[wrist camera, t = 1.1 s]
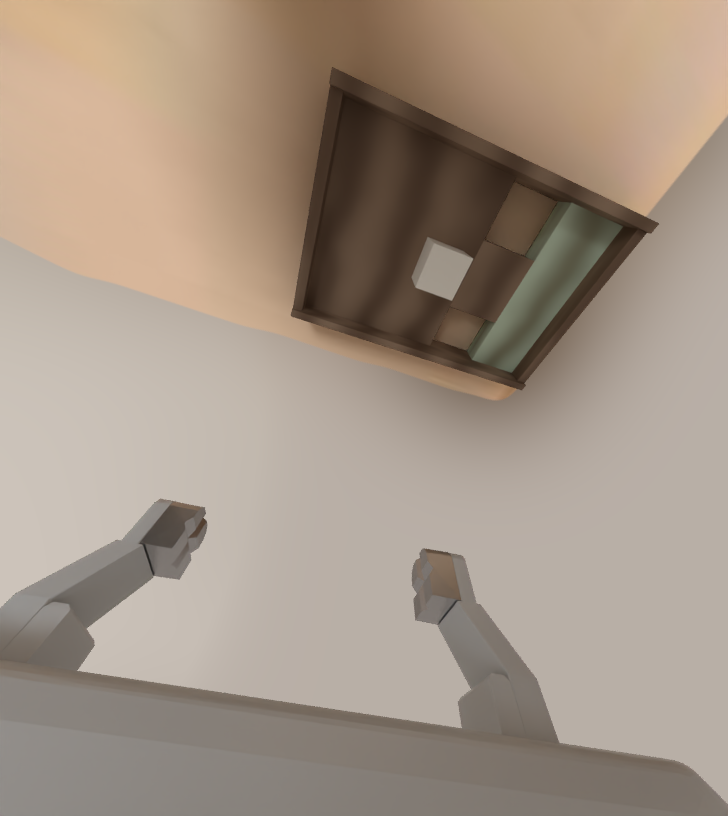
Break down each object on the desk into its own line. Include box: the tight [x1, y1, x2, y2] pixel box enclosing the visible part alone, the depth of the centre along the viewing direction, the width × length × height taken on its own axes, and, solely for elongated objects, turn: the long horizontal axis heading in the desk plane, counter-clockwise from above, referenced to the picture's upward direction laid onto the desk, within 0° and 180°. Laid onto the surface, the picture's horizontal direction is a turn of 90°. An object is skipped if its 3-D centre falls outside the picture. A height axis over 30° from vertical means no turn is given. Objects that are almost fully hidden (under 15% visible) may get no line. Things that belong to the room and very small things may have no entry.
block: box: [412, 237, 473, 301], centre depth 28 cm, size 4×4×4 cm
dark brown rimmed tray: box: [291, 67, 659, 390], centre depth 30 cm, size 30×19×5 cm, turn 72°
